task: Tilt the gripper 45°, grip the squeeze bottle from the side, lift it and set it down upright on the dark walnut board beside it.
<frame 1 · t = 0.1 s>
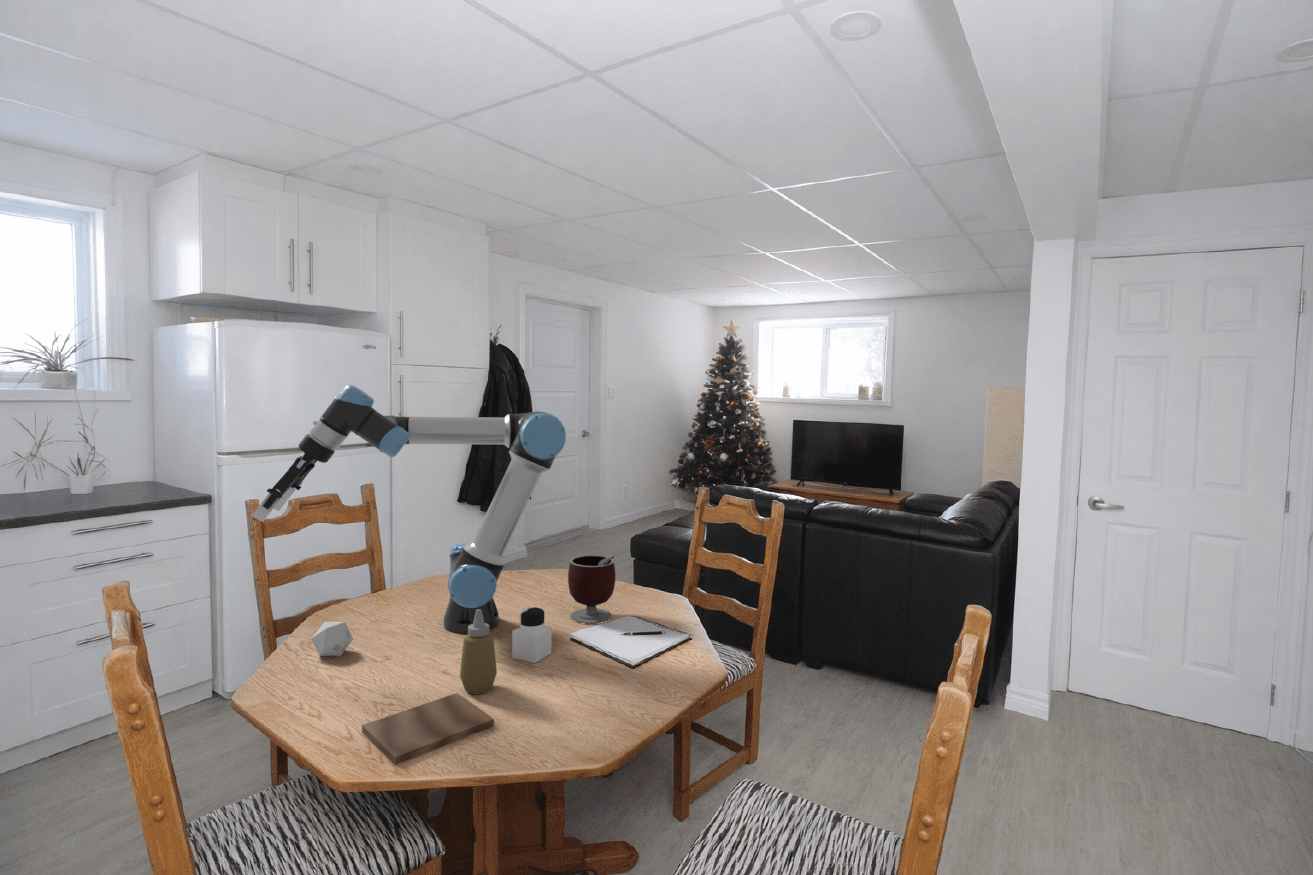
hand: (265, 513, 156), 36 cm above the table, tool tilted 35°, fingers open, 13 cm apart
die: (332, 654, 163), on the table
squeeze bottle: (478, 689, 146), on the table
walnut board: (429, 729, 128), on the table
mate gourd: (593, 618, 193), on the table
medicine bottle: (531, 656, 164), on the table
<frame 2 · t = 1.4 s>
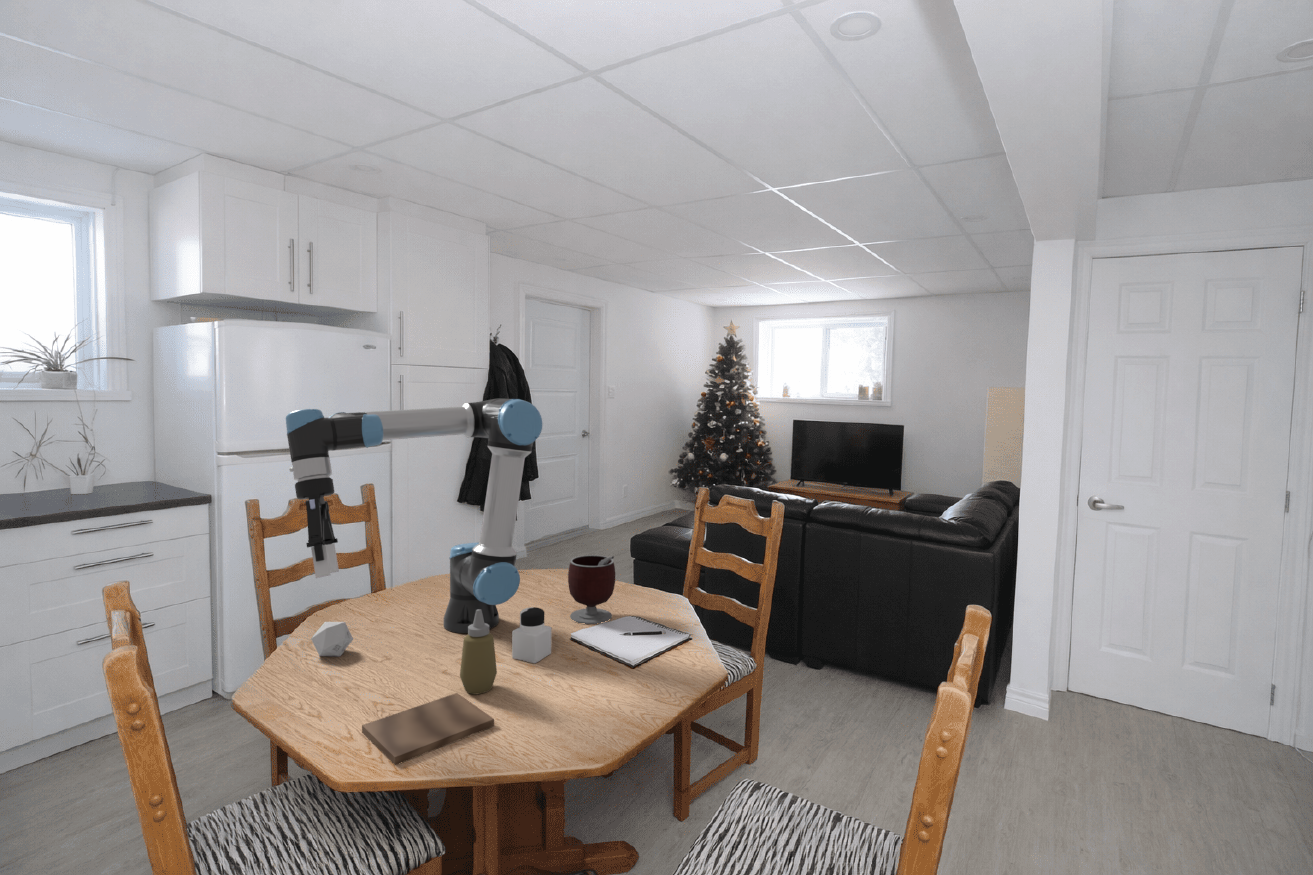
hand: (327, 574, 143), 26 cm above the table, tool pointing down, fingers open, 13 cm apart
nothing on the table moved.
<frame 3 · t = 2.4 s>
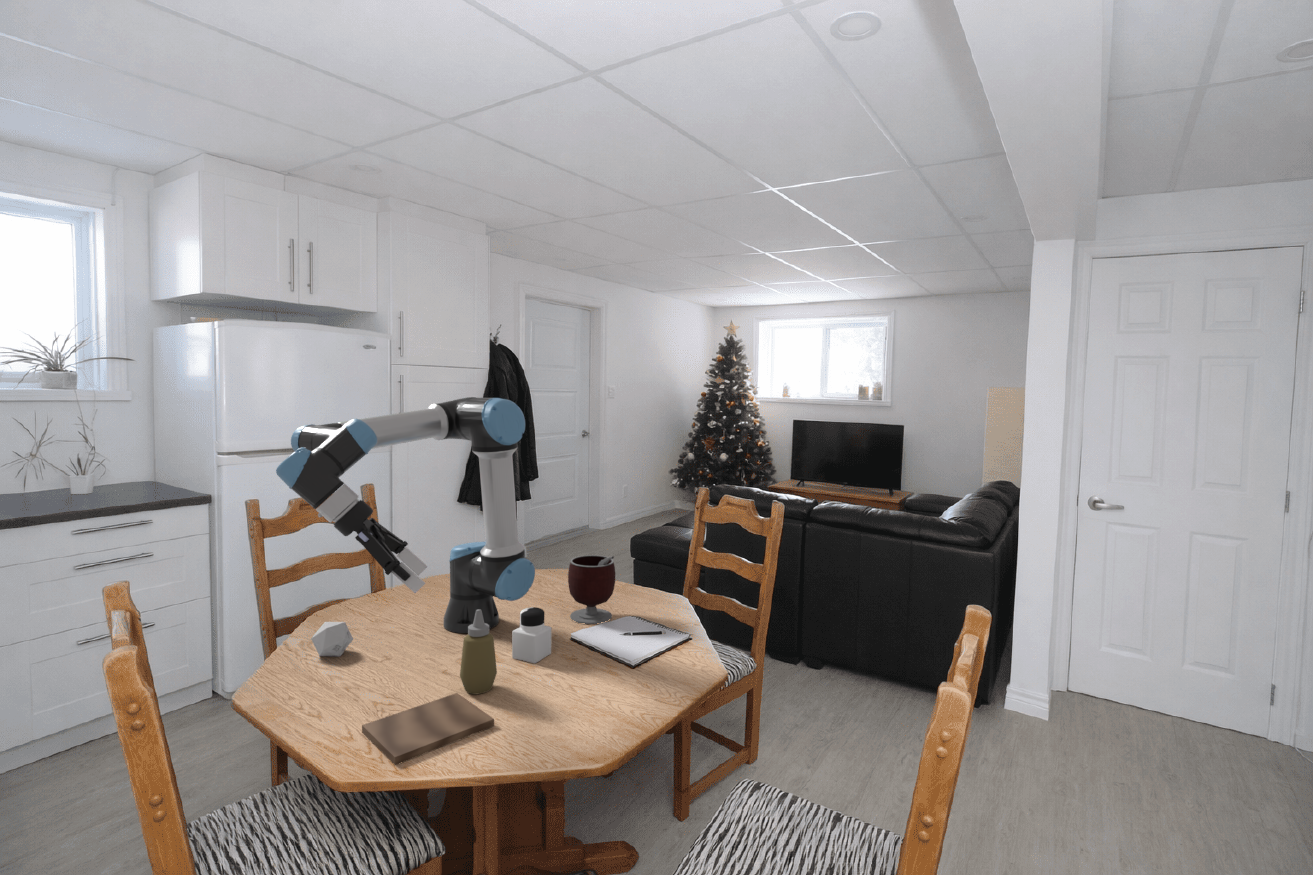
hand: (421, 579, 140), 26 cm above the table, tool tilted 45°, fingers open, 13 cm apart
nothing on the table moved.
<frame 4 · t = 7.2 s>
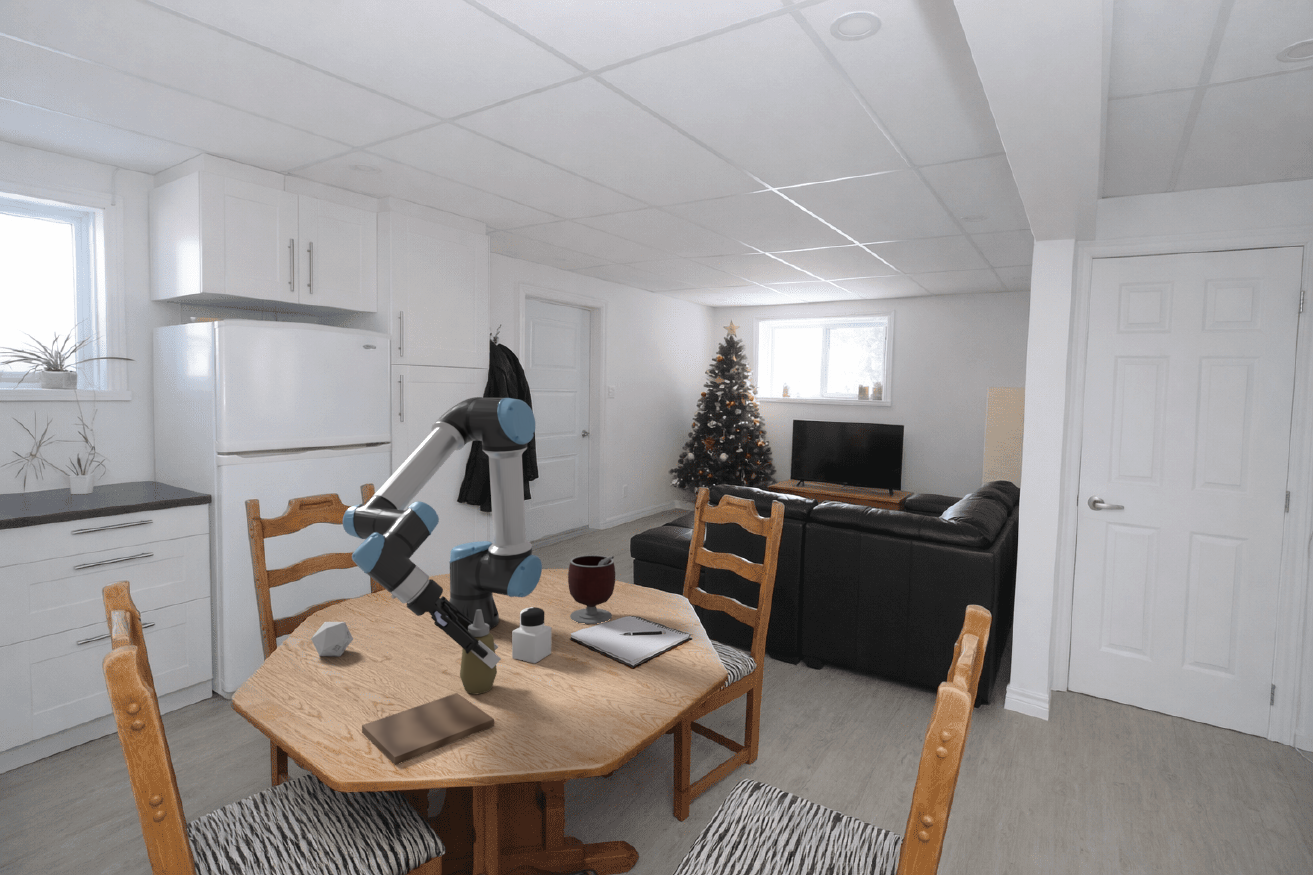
hand: (494, 656, 146), 7 cm above the table, tool tilted 45°, fingers closed on squeeze bottle, 6 cm apart
squeeze bottle: (478, 689, 146), on the table, touching gripper
everything else where it was.
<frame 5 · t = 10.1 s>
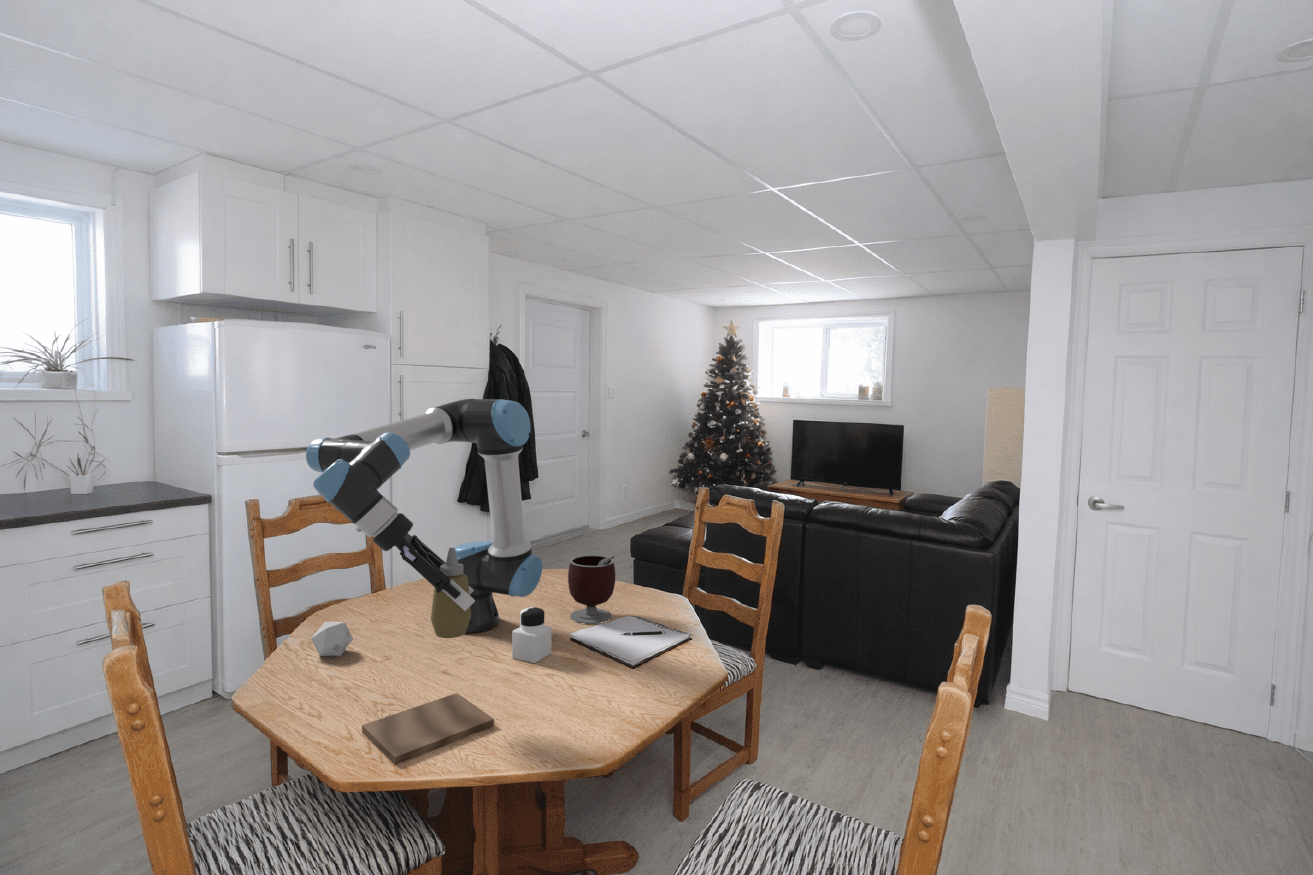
hand: (469, 600, 135), 23 cm above the table, tool tilted 45°, fingers closed on squeeze bottle, 6 cm apart
squeeze bottle: (450, 634, 135), point 16 cm above the table, touching gripper
everything else where it was.
when the fingers open (10 cm above the table, at t = 13.2 s): squeeze bottle drops 1 cm, resting on walnut board.
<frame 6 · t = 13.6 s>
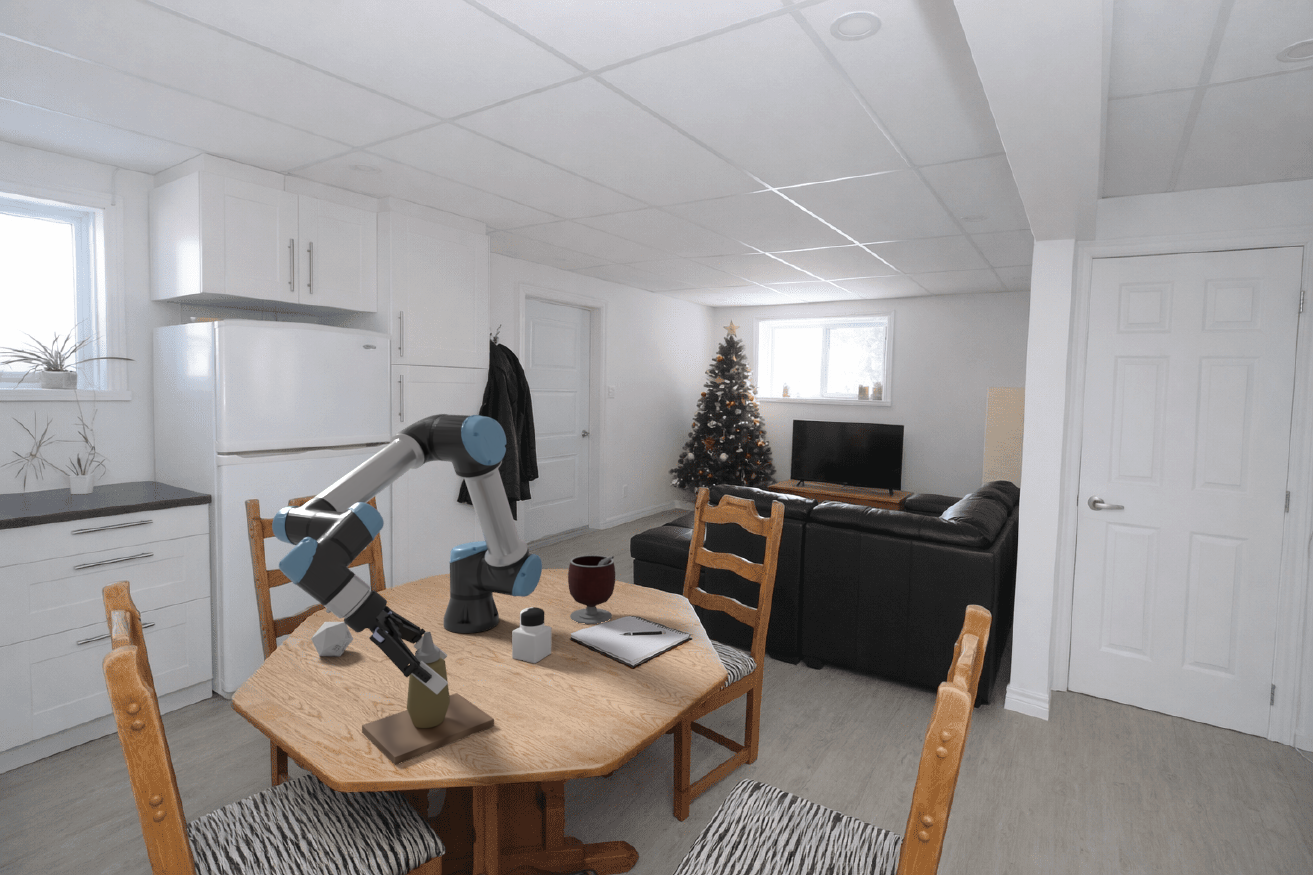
hand: (442, 673, 128), 11 cm above the table, tool tilted 45°, fingers open, 12 cm apart
squeeze bottle: (428, 722, 128), point 1 cm above the table, touching walnut board
everything else where it was.
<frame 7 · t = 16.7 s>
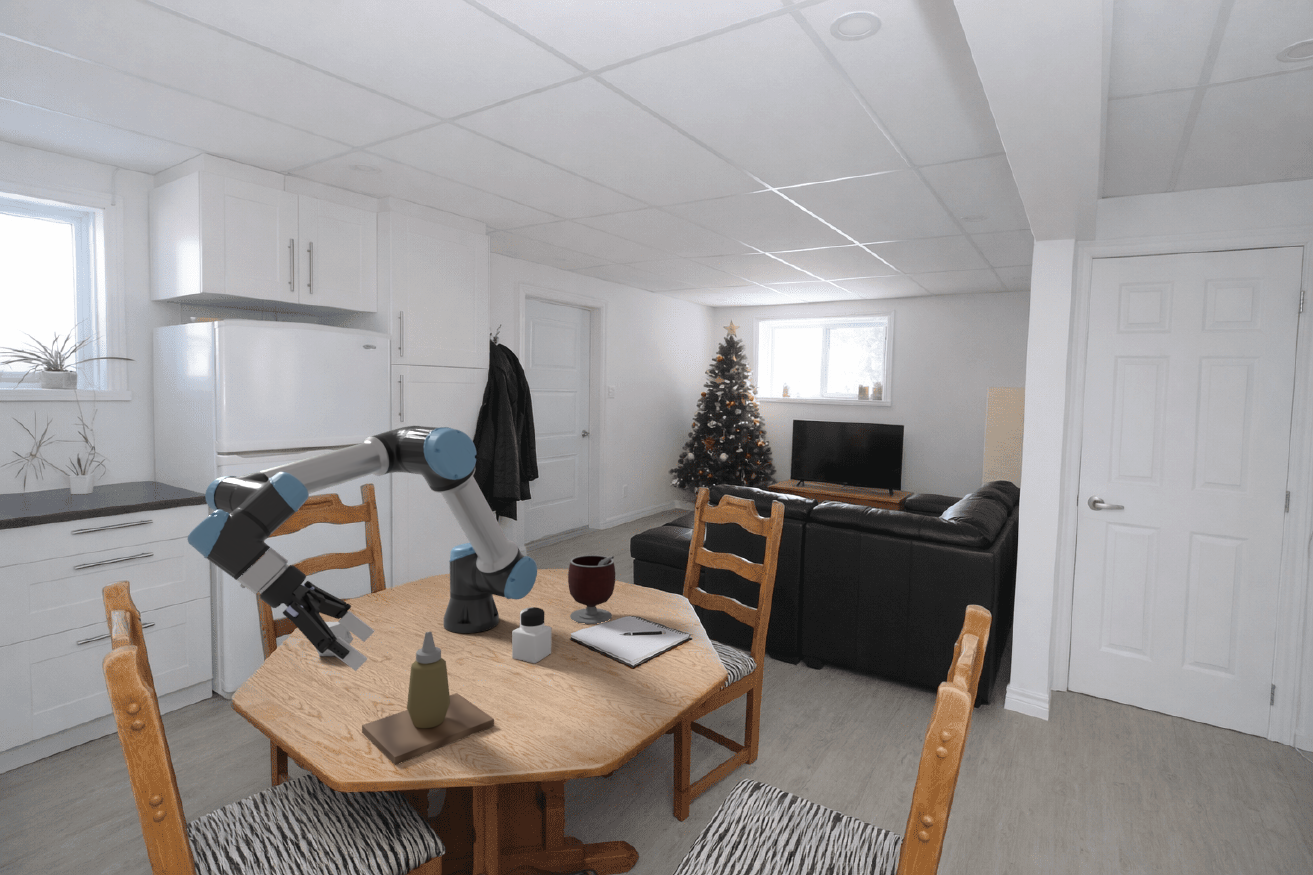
hand: (365, 649, 124), 17 cm above the table, tool tilted 45°, fingers open, 13 cm apart
nothing on the table moved.
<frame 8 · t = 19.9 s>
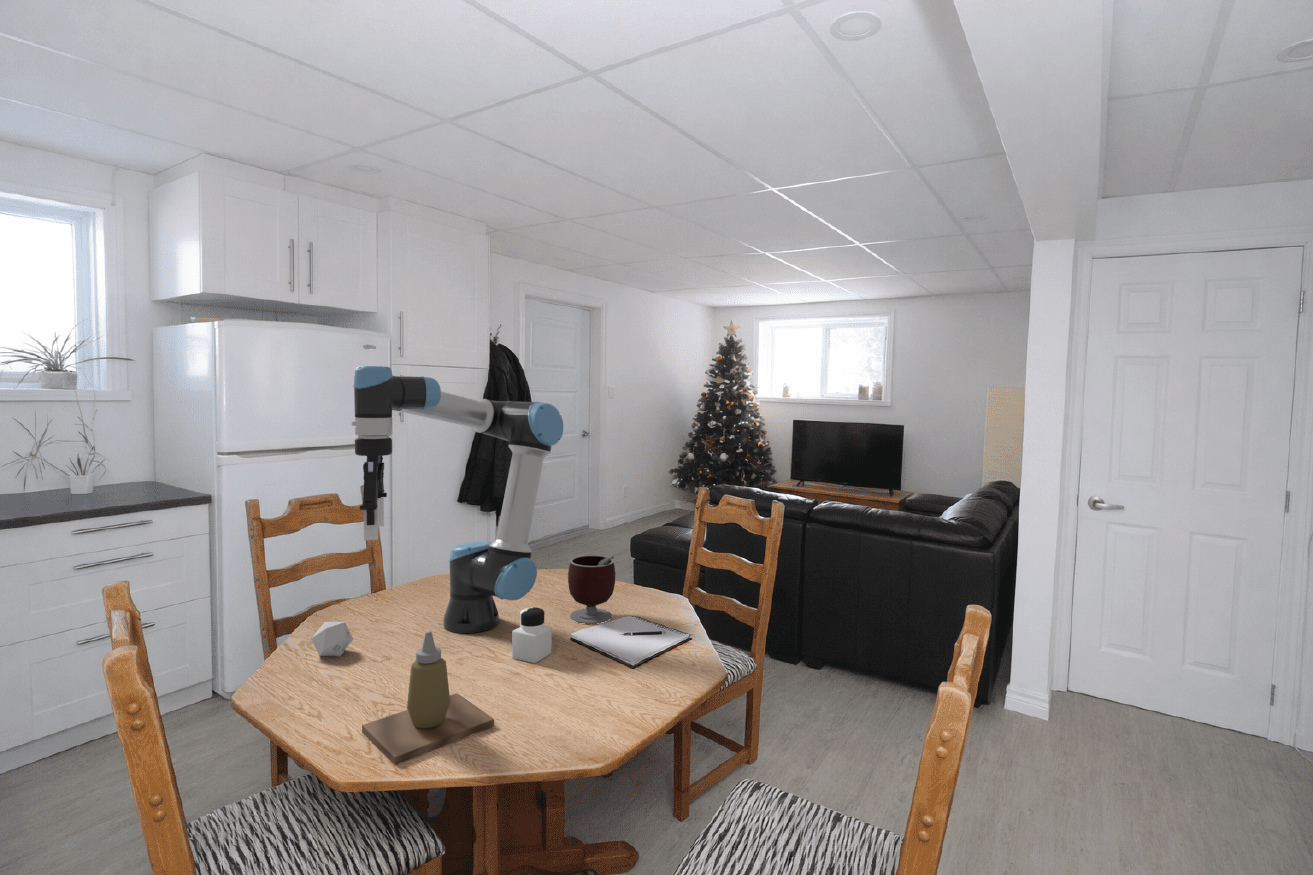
hand: (374, 532, 144), 35 cm above the table, tool pointing down, fingers open, 13 cm apart
nothing on the table moved.
at the end: squeeze bottle inside the target area on the walnut board (0.1 cm from its centre), point 1.3 cm above the walnut board's base; squeeze bottle tilted 0°; the gripper is holding nothing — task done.
